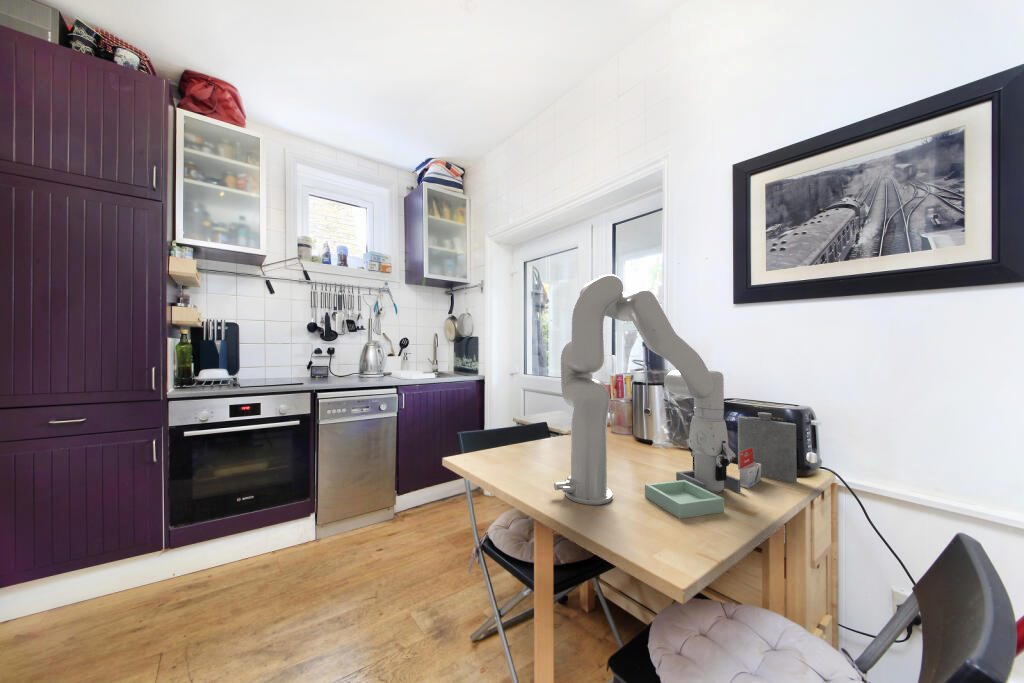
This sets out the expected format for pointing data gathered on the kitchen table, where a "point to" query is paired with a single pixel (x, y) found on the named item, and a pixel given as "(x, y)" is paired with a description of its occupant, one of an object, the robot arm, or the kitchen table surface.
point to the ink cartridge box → (749, 469)
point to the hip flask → (769, 445)
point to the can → (707, 471)
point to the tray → (684, 498)
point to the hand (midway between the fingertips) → (709, 474)
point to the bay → (689, 476)
